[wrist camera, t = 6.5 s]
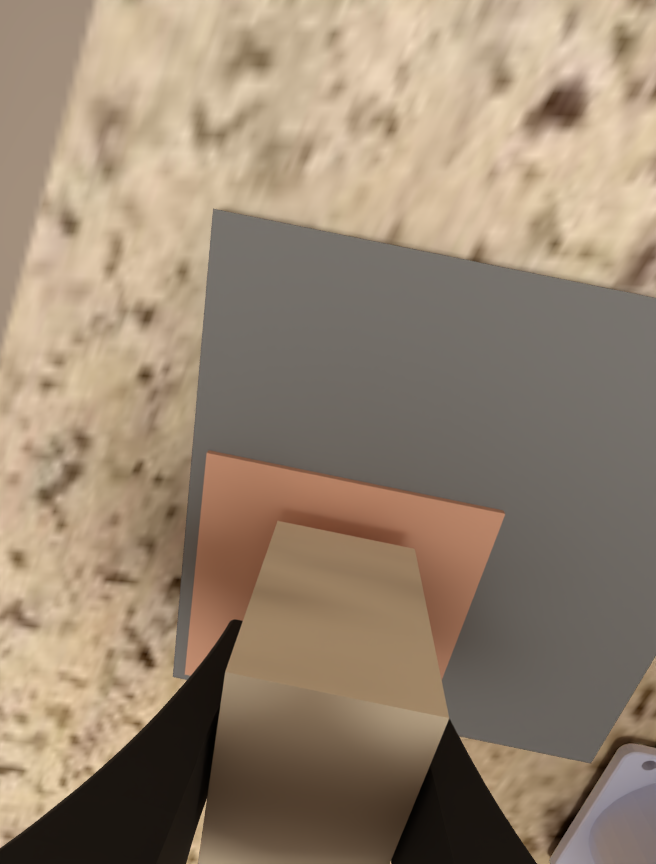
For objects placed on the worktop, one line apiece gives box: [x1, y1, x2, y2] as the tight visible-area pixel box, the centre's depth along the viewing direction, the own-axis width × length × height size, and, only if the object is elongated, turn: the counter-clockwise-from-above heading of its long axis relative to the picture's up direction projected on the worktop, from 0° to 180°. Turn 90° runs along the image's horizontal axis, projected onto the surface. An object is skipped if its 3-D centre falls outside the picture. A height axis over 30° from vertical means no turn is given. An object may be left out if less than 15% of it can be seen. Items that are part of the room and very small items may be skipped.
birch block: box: [198, 521, 449, 864], centre depth 11 cm, size 7×4×5 cm, turn 169°
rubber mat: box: [173, 209, 656, 763], centre depth 13 cm, size 16×16×1 cm
